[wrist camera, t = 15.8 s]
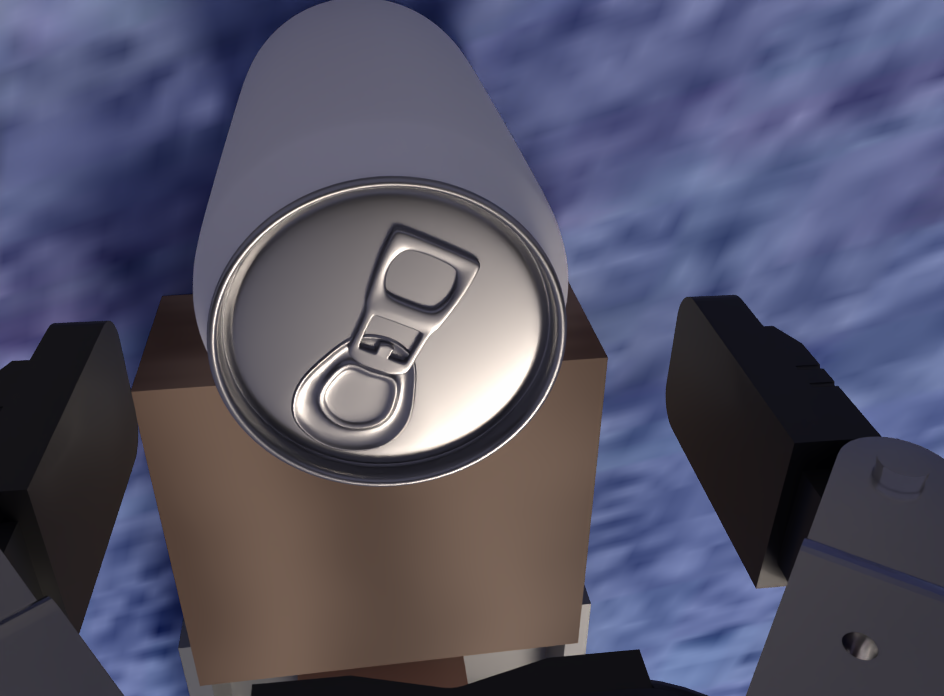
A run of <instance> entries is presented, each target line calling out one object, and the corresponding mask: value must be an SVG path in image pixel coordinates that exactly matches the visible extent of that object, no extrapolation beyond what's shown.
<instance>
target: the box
mask: <svg viewBox="0 0 944 696" xmlns="http://www.w3.org/2000/svg"><path fill="white" fill-rule="evenodd" d="M590 607H591V603H590V600H589V597H588V594H587V591H586V588H585V585H584V591H583V600H582V610H581V619H580V629H579V639H578V643H574V644H565V645H557V646H548V647H539V648H530V649H521V650H513V651H504V652H495V653H486V654H477V655H469V656H463V657H464V663H465V669H466V675H467V681H468V684H470V683H473V682H476V681H479V680H482V679H485V678H488V677H491V676H494V675H497V674H500V673H503V672H506V671H509V670H512V669H515V668H518V667H521V666H524V665H527V664H530V663H533V662H536V661H539V660H542V659H545V658H550V657H561V656H572V655H583V654H585V652H586V643H587V634H588V625H589V616H590ZM178 649H179V653H180V657H181V662H182V666H183V670H184V674H185V678H186V682H187V686H188V690H189V694H190V696H251V690H252V684H261V683H272V682H283V681H294V680H298V675H293V676H284V677H275V678H266V679H258V680H249V681H240V682H231V683H222V684H214V685H205V686H200V684H199V680H198V676H197V671H196V667H195V663H194V659H193V655H192V650H191V646H190V642H189V638H188V633H187V629H186V625H185V621H184V618H183V624H182V630H181V635H180V641H179V647H178Z"/></svg>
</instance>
